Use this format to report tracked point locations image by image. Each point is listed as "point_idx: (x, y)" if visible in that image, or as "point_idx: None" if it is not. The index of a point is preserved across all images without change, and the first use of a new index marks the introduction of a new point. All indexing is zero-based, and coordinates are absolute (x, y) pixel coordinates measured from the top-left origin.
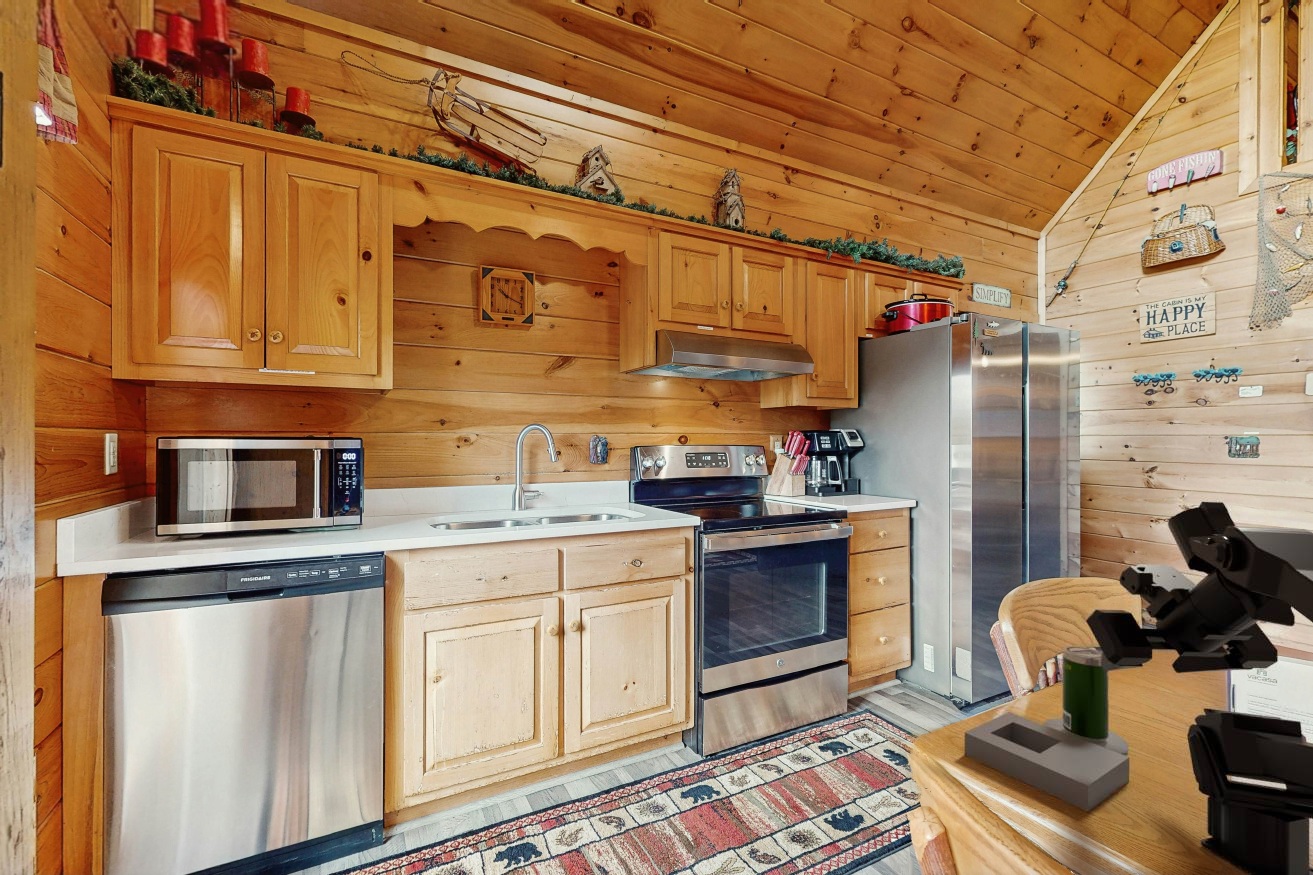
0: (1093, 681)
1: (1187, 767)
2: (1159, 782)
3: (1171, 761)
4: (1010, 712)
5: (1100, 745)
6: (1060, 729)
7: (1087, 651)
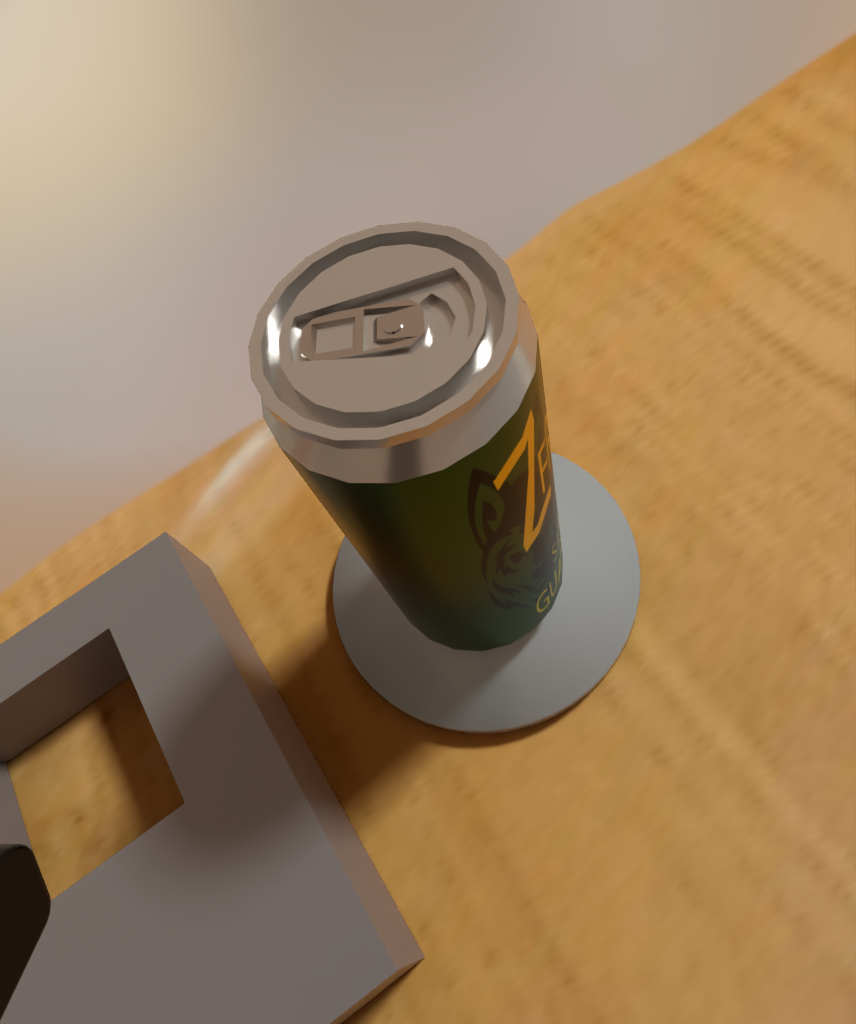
0: (388, 535)
1: (813, 800)
2: (565, 964)
3: (766, 745)
4: (168, 535)
5: (486, 664)
6: None
7: (437, 283)
